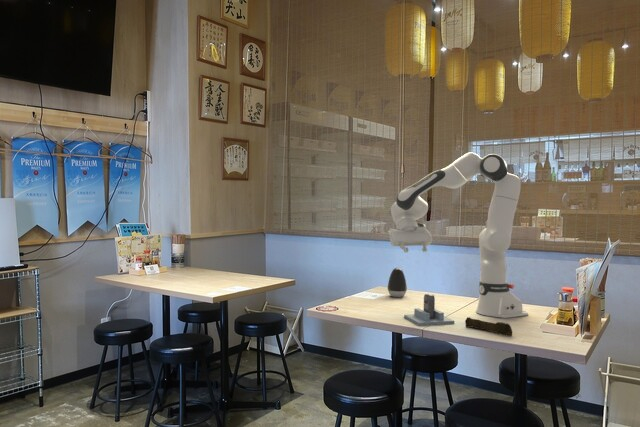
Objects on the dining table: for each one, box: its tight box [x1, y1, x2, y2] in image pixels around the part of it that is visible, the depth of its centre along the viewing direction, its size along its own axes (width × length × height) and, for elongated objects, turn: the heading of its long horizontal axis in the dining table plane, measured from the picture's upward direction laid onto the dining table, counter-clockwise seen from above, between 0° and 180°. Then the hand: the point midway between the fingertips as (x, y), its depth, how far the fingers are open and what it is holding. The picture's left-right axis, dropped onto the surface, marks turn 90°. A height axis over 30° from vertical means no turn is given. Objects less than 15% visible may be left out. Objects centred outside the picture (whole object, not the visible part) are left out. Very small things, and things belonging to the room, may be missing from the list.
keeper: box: [404, 307, 455, 327], centre depth 201 cm, size 16×14×4 cm
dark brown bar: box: [464, 316, 513, 337], centre depth 186 cm, size 19×4×5 cm, turn 39°
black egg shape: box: [386, 267, 408, 298], centre depth 253 cm, size 10×10×15 cm
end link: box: [423, 293, 436, 319], centre depth 201 cm, size 3×4×10 cm
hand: (416, 251), depth 219 cm, fingers open, 8 cm apart
